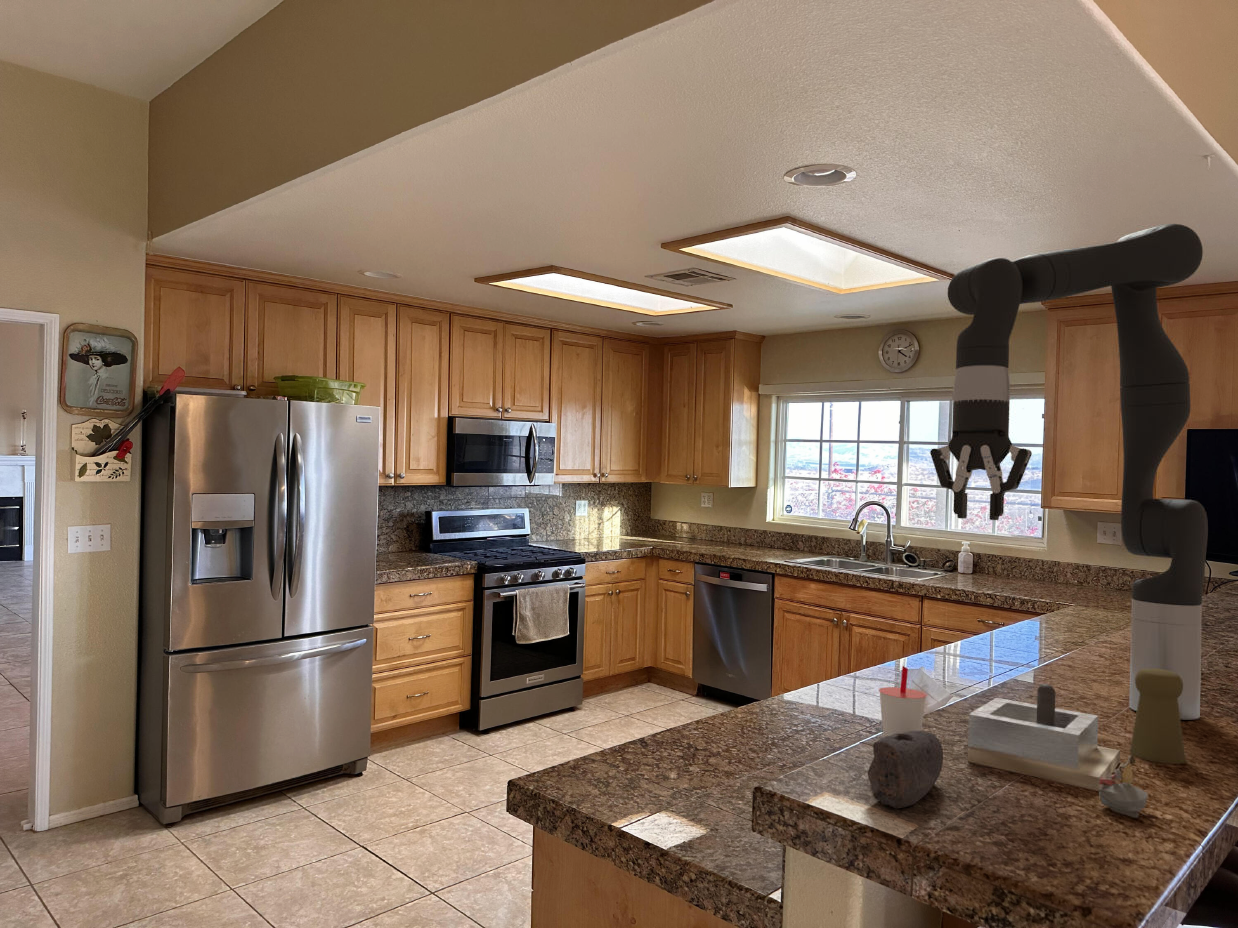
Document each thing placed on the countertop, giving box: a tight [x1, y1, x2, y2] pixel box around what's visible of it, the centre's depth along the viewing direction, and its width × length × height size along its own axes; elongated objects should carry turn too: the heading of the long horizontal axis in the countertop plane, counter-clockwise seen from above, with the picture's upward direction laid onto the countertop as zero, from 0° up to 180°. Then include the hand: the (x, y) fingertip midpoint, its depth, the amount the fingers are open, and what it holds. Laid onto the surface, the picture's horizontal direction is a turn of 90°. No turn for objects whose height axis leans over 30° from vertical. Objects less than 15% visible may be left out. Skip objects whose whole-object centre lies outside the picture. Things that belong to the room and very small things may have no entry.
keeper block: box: [967, 683, 1121, 792], centre depth 103 cm, size 14×14×10 cm
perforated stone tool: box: [867, 730, 944, 809], centre depth 90 cm, size 15×5×7 cm, turn 138°
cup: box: [878, 665, 928, 738], centre depth 99 cm, size 5×5×12 cm
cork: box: [1129, 668, 1187, 765], centre depth 108 cm, size 6×6×11 cm
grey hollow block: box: [967, 697, 1099, 770], centre depth 104 cm, size 12×12×4 cm
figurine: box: [1098, 754, 1149, 819], centre depth 88 cm, size 5×4×6 cm
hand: (977, 518), depth 121 cm, fingers open, 4 cm apart
